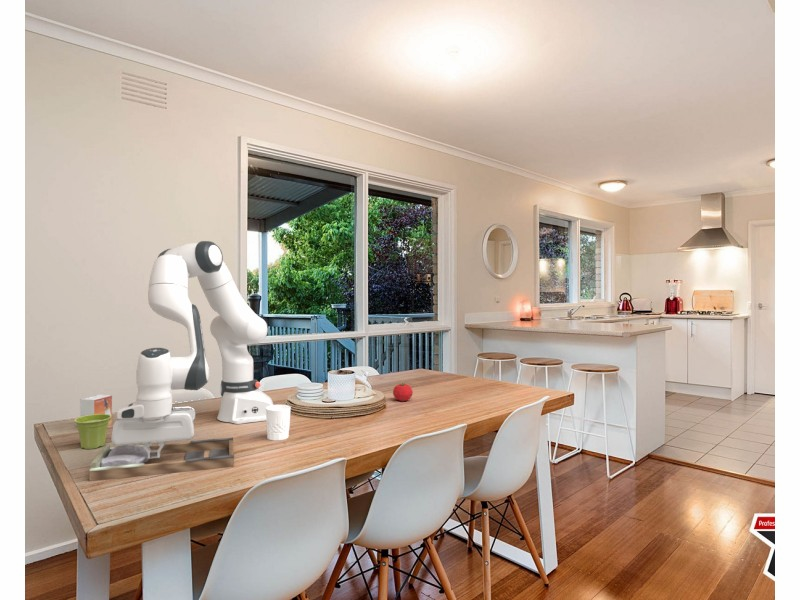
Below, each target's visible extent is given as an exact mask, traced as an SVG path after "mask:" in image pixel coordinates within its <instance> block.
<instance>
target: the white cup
mask: <svg viewBox="0 0 800 600" xmlns="http://www.w3.org/2000/svg"><path fill="white" fill-rule="evenodd" d="M291 407H292V406H291V405H287V404H273V405H271V406H268V407H266V420H265V423H266V426H265V427H266V432H267V434H266V435H267V436H266V437H267V440H269V441H273V442H275V441H276V442H277V441H284V440H287V439H288V438H289V434H290V426H291V425H290V424H291V423H290V422H291Z"/></svg>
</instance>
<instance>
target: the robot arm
mask: <svg viewBox="0 0 800 600" xmlns="http://www.w3.org/2000/svg"><path fill="white" fill-rule="evenodd" d="M223 257H224V256H223V251H222V249H221V247H219V246H218V245H217V244H216V243H215V242H213V241H209V240H201V241H197V242H190V243H184V244H182V245H179V246H175V247H173V248H168V249H165V250H163V251H162V252H160V253H159V254H158V256H157V258H155V260H154V262H153V265H152V269H151V272H150V277H149V283H148V289H147V290H148V291H147V292H148V293H147V297H148V298H147V299H148V304H149V305H148V306H149V307H150V308H151V310H152V311H153V312H154V313H156V314H157V315H159V316H161V317H162V318H163V319H164V318H165V319H167V320H169V321H170V320H171V321H172V322H176V323H178V324H180V325H182V326H184V327H185V329H186V330H187V336H188V342H189V343H188V344H189V349H190V351H189V352H190V354H189V355H187V356H186V355H185V356H171V352H170V350H169V349H167V348H164V347H150V348H146V349H144V350H142V351H141V352H140V353H139V356H138V360H137V367H136V378H135V379H136V385H137V394H136V399H135V400H136V401H135V402H131V403H129V404H125V405H123V406H121V407H120V408H119V409H118V410H117V411H116V418H117V419H116V420H115V421H114V423H113V426H112V432H111V439H110V441H111V443H112V445H113V446H114V447H117V446H124V445H143V447H144V449H145V450H146V452H147V453H148V460H149V459H150V460H151V459H160V458H161V454H160V451H161V449H162V448H163V446H164V444H166V442H175V441H176V442H178V441H189V440H190V441H191V439H192V438H193V437H195V436H194V435H195V426H194V425H195V424H194V421H195V420H196V410H195V408H193V407H191V406H190V405H185V406H178V405H177V406H173V392H172V391H173V390H176V391H177V390H185V391H198V390H201V388H203V387H205V386H206V384H207V383H208V382H209V379H210V368H209V362H208V361H207V356H206V350H205V343H204V335H203V327H202V320H201V315H200V311H199V308H198V307H197V305H196V304H193V303H192V302H191V300H190V297H189V279H192V278H196V277H197V281H198V283H199V286H200V287H201V289H202V292H203V294H204V295H205V298H206V300H207V301H208V304H209V306H210V308H211V310H212V311H214V312H216V313H217V314H218V315H216V316H215V317H214V318H213V319H212V320H211V323H210V326H209V330H210V333H211V336H212V337H214V339H215V341H216V343H217V346H218V348H219V351H220V356H221V364H222V365H221V367H222V370H221V371H222V373H221V374H222V375H221V376H222V379H221V381H220V382H221V383H220V396H221V397H220V398H221V401H220V405H219V409H218V410H219V411H218V414H217V420H218V421H221V422H225V423H232V424H235V425H238V424H239V425H240V424H246V423H247V424H248V423H254V422H255V423H257V422H266V407H268V406H271V405H274V402H273V400H272V397H271V396H269V395H268V394H266V393H265V392H263V391H262V390H260V387H261V382H259V381H258V380H257V379H254V358H253V356H252V355H251V354H250V352H249V351H248V348H247V345H249V346H250V345H254V344H260V343H261V342H263V341H264V340H265V339H266V337H267V334H268V330H269V329H268V323H267V322H266V321H265V319H263V318H262V317H260V316H259V315H257V313H255V311H254V310H253V309H252V308H251V307H250V306H249V305H248V303H247V302H246V300H245V299H244V298H243V296H242V294H241V293H240V291H239V288H238V287H237V284H236V282H235V280H234V278H233V276H232V273H231V271H230V269H229V268H228V266H227V264H226V263H225V261H224V258H223ZM154 443H158V444H157V445H158V446H160V447H159V449H158V450H152V451H151V449H150V447H149V445H150V444H154Z"/></svg>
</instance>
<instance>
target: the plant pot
mask: <svg viewBox="0 0 800 600" xmlns="http://www.w3.org/2000/svg"><path fill="white" fill-rule="evenodd" d="M110 418H111V415H108V414H94V415H87V416H82V417H80V416H79V417H77V418H75V419H74V423H76V424H75V425H76V427H77V430H78V434H79V435H78V436H79V441H80V442H79V443H80V448H81V449H85V450H92V449H97V448H99V447H104V446H105V445H106V440H107V439H106V438H107V435H108V434H107V433H108V427H109V426H108V423H109V419H110Z"/></svg>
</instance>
